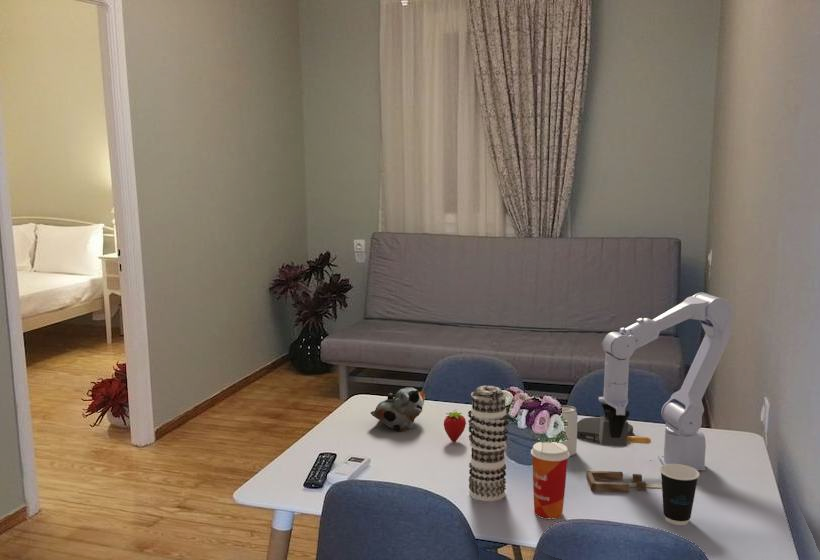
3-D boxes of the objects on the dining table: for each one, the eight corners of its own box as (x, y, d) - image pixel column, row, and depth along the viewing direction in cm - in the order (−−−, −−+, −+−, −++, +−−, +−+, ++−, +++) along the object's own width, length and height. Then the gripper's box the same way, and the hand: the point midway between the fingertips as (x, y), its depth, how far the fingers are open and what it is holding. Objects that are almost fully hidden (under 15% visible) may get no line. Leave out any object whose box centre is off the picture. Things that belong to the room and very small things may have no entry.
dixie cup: (676, 531, 151) (679, 481, 150) (649, 515, 159) (651, 467, 157) (704, 524, 155) (708, 474, 153) (677, 508, 162) (679, 461, 160)
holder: (656, 480, 177) (656, 472, 177) (664, 493, 170) (665, 485, 169) (586, 477, 178) (586, 470, 178) (591, 490, 171) (591, 483, 171)
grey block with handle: (648, 442, 184) (650, 419, 184) (652, 448, 180) (654, 425, 180) (598, 439, 185) (600, 416, 184) (601, 444, 181) (603, 421, 180)
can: (576, 457, 191) (578, 413, 189) (551, 455, 192) (552, 411, 190) (576, 448, 197) (577, 405, 195) (551, 446, 198) (552, 404, 197)
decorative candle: (496, 505, 163) (499, 397, 160) (460, 496, 168) (461, 390, 164) (513, 490, 171) (516, 386, 167) (478, 481, 176) (479, 380, 172)
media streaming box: (636, 432, 211) (636, 422, 210) (621, 448, 198) (621, 437, 198) (586, 423, 218) (587, 413, 218) (569, 437, 206) (569, 427, 206)
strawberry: (469, 439, 204) (469, 404, 202) (460, 448, 197) (460, 412, 196) (449, 436, 206) (449, 401, 205) (439, 445, 199) (439, 409, 198)
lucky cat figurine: (386, 414, 224) (408, 375, 223) (416, 436, 219) (439, 396, 218) (362, 414, 211) (386, 372, 210) (394, 437, 206) (418, 395, 205)
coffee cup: (525, 505, 163) (526, 440, 161) (561, 504, 164) (563, 439, 162) (534, 523, 155) (536, 455, 153) (572, 521, 156) (575, 454, 154)
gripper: (594, 372, 188) (592, 423, 190) (604, 389, 174) (602, 443, 176) (622, 373, 188) (620, 424, 190) (635, 389, 173) (632, 444, 175)
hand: (613, 433), depth 183 cm, fingers closed on grey block with handle, 4 cm apart
